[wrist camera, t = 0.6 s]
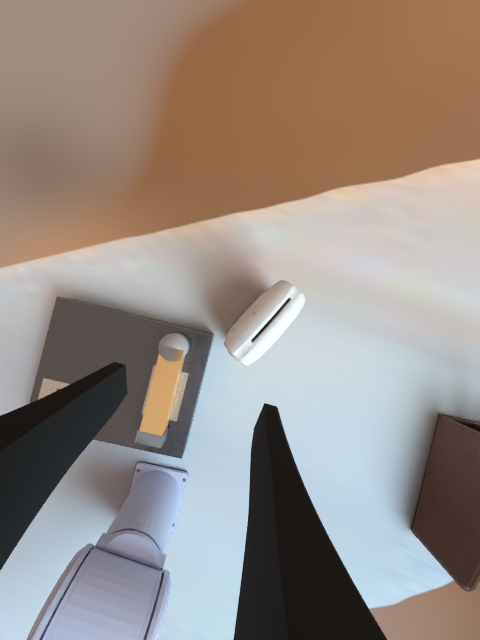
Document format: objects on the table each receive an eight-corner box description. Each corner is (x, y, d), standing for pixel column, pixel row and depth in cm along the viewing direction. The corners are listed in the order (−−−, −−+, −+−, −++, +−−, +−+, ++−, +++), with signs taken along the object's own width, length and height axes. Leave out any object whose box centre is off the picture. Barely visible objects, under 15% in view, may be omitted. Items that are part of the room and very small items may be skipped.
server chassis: (185, 447, 31) (181, 459, 28) (41, 415, 30) (23, 424, 27) (214, 334, 31) (212, 335, 28) (71, 298, 30) (56, 296, 27)
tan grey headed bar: (167, 330, 28) (162, 330, 26) (192, 336, 28) (189, 337, 26) (140, 433, 28) (133, 442, 26) (166, 439, 28) (161, 448, 26)
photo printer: (242, 354, 31) (249, 378, 19) (221, 336, 31) (215, 348, 19) (286, 306, 31) (321, 298, 19) (266, 287, 31) (288, 267, 19)
